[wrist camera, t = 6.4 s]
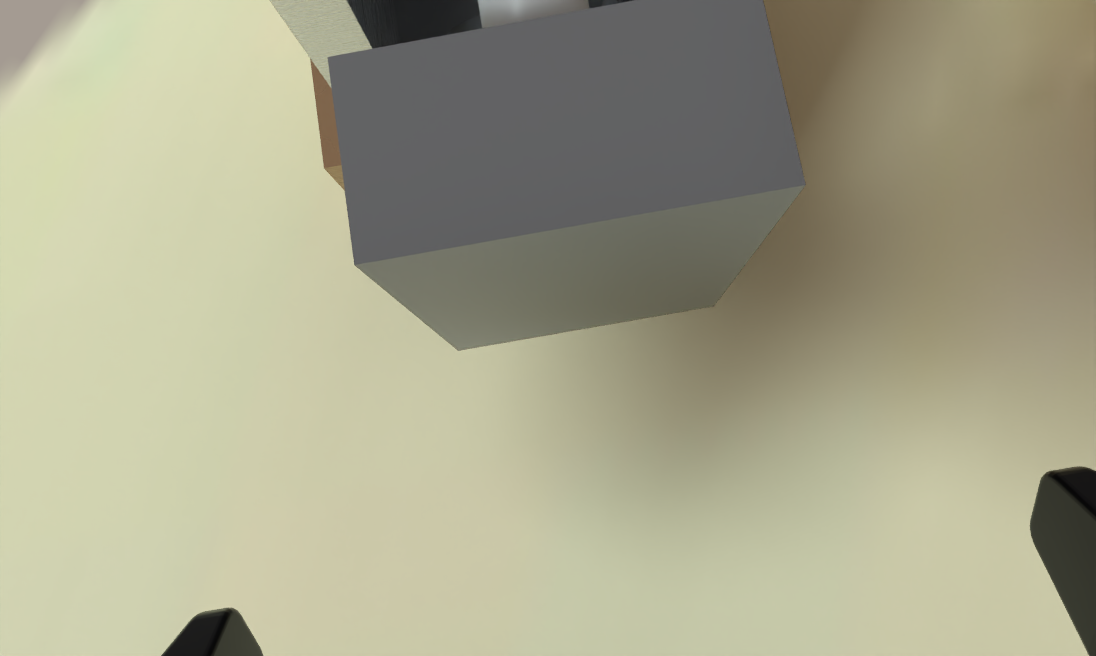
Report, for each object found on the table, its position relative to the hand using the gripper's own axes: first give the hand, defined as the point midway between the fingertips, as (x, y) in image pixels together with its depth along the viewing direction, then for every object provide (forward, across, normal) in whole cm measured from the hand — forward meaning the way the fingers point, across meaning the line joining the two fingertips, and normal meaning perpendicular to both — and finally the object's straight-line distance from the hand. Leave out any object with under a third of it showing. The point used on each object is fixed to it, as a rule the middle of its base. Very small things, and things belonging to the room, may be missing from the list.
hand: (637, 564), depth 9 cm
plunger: (+10, 0, -1) cm, 10 cm away
